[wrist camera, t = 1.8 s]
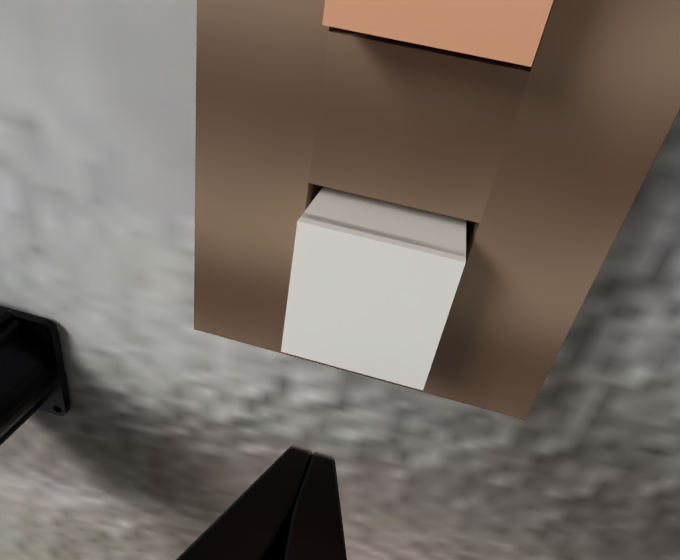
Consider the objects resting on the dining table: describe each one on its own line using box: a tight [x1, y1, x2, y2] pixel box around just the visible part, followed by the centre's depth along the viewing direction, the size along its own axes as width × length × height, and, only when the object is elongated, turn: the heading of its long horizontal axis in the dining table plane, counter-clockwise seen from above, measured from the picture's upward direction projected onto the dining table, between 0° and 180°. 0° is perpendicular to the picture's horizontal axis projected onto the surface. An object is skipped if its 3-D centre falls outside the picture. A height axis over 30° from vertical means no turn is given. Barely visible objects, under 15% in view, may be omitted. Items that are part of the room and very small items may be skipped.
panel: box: [194, 0, 680, 420], centre depth 15 cm, size 17×12×4 cm
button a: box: [281, 186, 466, 390], centre depth 15 cm, size 4×4×4 cm
